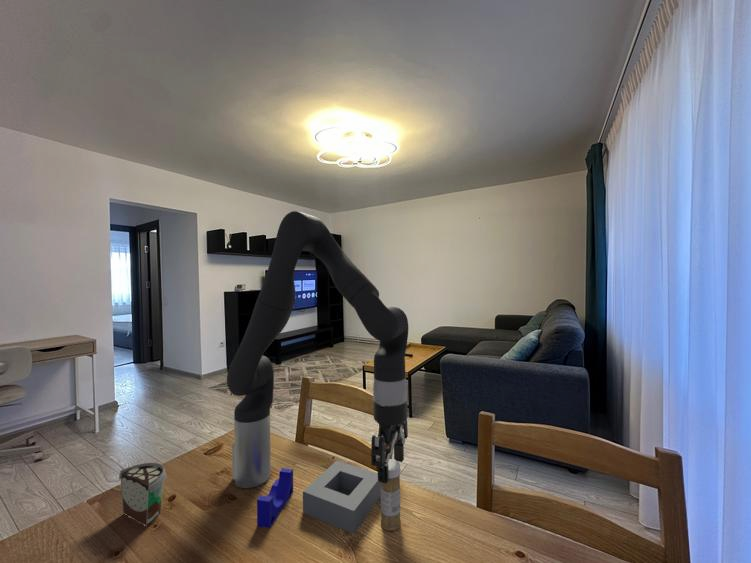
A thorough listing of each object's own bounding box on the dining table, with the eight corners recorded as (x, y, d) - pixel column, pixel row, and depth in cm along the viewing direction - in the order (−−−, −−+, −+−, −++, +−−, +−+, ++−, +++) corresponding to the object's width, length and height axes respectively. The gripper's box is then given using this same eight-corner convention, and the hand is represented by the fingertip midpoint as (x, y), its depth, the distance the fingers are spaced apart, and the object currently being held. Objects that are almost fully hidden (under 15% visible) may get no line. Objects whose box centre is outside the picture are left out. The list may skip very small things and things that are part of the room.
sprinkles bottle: (396, 514, 72) (395, 456, 72) (404, 529, 68) (403, 467, 68) (377, 519, 71) (377, 460, 71) (384, 534, 66) (383, 471, 66)
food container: (178, 510, 74) (178, 468, 74) (150, 529, 68) (150, 484, 68) (147, 496, 79) (147, 456, 79) (119, 512, 73) (118, 470, 73)
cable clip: (277, 490, 81) (276, 467, 81) (293, 492, 80) (293, 469, 80) (251, 526, 69) (250, 499, 69) (269, 528, 68) (269, 501, 68)
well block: (302, 512, 73) (302, 491, 73) (336, 478, 85) (336, 460, 85) (354, 534, 66) (354, 510, 66) (382, 494, 79) (382, 474, 79)
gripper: (388, 385, 77) (389, 451, 77) (359, 406, 64) (360, 484, 64) (416, 389, 74) (418, 458, 74) (392, 412, 61) (394, 495, 61)
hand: (391, 470), depth 69 cm, fingers open, 8 cm apart
